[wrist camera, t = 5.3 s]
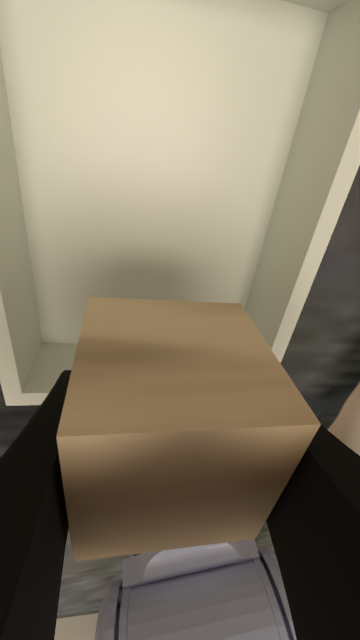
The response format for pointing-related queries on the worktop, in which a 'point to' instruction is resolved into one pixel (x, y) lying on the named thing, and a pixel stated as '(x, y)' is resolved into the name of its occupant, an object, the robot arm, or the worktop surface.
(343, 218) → the worktop surface
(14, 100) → the tote
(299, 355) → the worktop surface
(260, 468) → the beech cube
